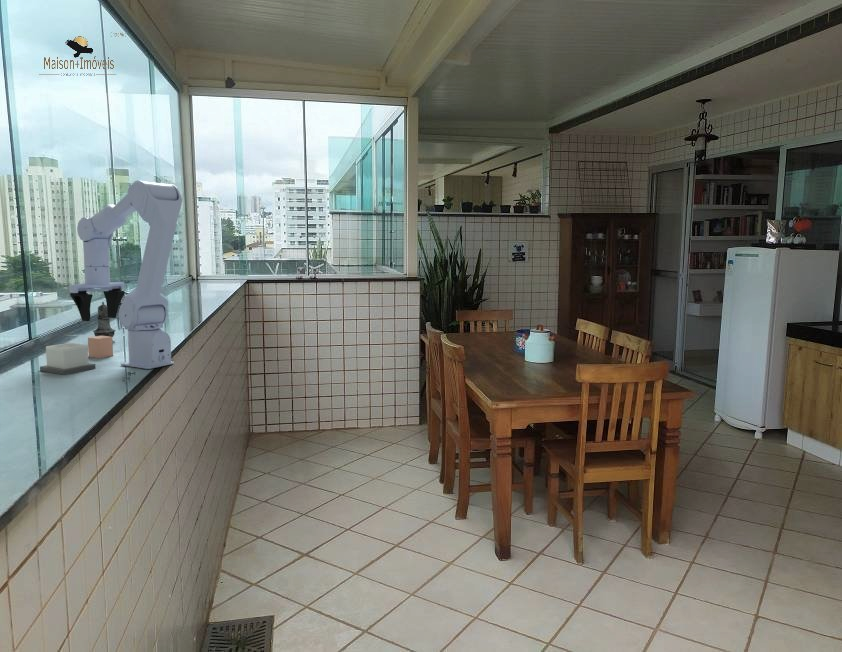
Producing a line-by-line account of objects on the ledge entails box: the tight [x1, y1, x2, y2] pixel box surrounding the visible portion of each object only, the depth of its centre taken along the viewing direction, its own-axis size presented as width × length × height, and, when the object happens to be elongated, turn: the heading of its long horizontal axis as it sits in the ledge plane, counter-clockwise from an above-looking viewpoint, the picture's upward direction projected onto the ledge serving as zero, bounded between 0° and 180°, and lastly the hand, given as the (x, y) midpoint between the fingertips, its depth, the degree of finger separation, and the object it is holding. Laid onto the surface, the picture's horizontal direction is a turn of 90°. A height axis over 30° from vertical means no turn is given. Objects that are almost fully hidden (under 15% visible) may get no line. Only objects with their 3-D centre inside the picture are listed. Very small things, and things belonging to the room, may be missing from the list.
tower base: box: [39, 342, 97, 376], centre depth 142 cm, size 8×8×6 cm
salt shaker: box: [92, 301, 116, 344], centre depth 177 cm, size 6×6×12 cm
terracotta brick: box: [87, 335, 114, 359], centre depth 159 cm, size 4×4×5 cm
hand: (99, 319), depth 158 cm, fingers open, 7 cm apart
